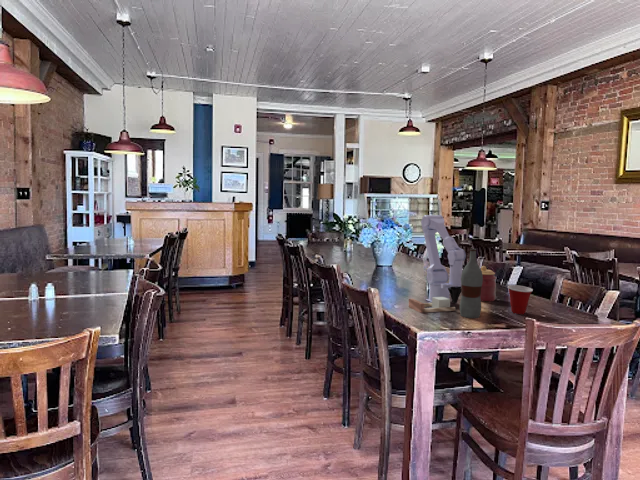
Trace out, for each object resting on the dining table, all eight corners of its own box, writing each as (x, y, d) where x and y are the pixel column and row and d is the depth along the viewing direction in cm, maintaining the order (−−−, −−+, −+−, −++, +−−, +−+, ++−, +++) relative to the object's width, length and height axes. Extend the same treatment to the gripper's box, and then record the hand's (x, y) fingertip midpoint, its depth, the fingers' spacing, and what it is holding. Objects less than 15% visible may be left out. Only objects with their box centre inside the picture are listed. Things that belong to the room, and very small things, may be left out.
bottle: (485, 316, 209) (488, 249, 206) (474, 319, 203) (477, 250, 200) (466, 312, 216) (469, 247, 213) (455, 315, 210) (458, 248, 207)
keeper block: (442, 306, 227) (443, 296, 226) (449, 309, 221) (450, 299, 221) (431, 307, 225) (432, 297, 225) (438, 310, 219) (439, 299, 219)
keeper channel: (441, 305, 230) (442, 297, 229) (454, 310, 219) (455, 302, 219) (408, 307, 225) (408, 298, 224) (420, 312, 214) (420, 303, 213)
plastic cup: (520, 316, 210) (521, 290, 209) (500, 311, 219) (502, 286, 218) (536, 314, 215) (538, 288, 214) (517, 309, 224) (518, 284, 223)
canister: (479, 302, 238) (481, 267, 236) (464, 297, 250) (465, 264, 249) (500, 301, 242) (502, 267, 241) (484, 296, 254) (486, 263, 253)
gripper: (447, 276, 218) (445, 305, 219) (473, 275, 222) (472, 303, 223) (438, 273, 225) (437, 301, 226) (465, 273, 229) (463, 300, 230)
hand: (454, 302), depth 225 cm, fingers closed
